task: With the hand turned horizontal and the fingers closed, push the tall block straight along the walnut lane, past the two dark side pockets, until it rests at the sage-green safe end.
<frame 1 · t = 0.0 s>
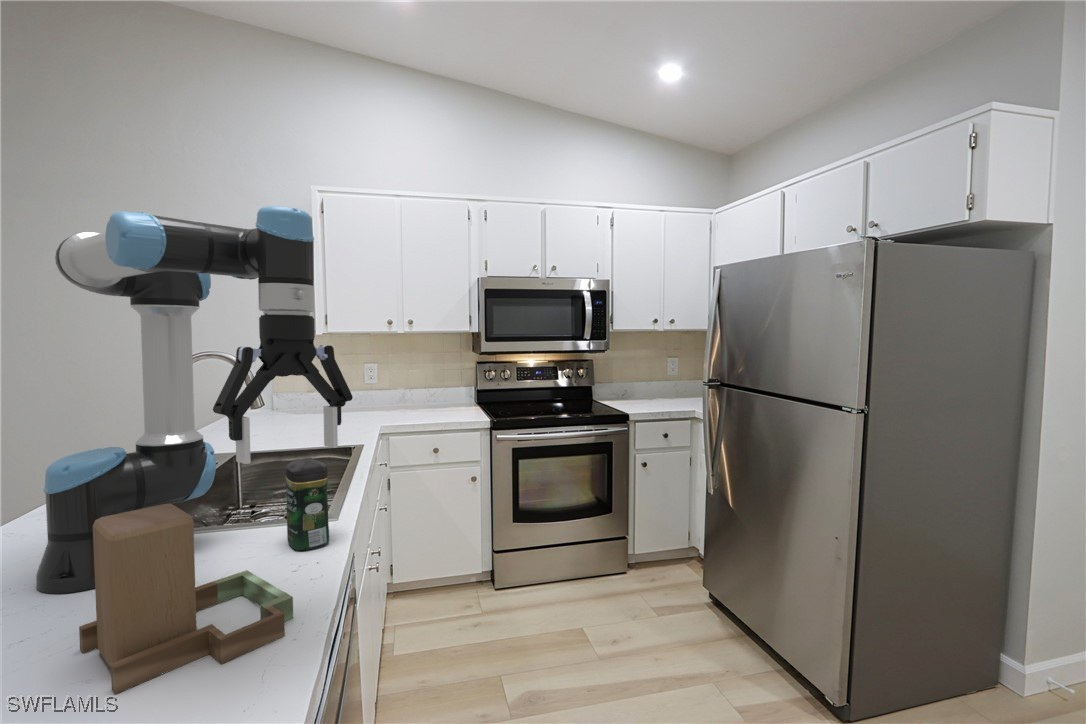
hand: (290, 454, 82), 28 cm above the counter, tool pointing down, fingers open, 13 cm apart
block: (148, 651, 79), on the counter
trap lane: (187, 634, 83), on the counter
coffee jar: (308, 544, 119), on the counter
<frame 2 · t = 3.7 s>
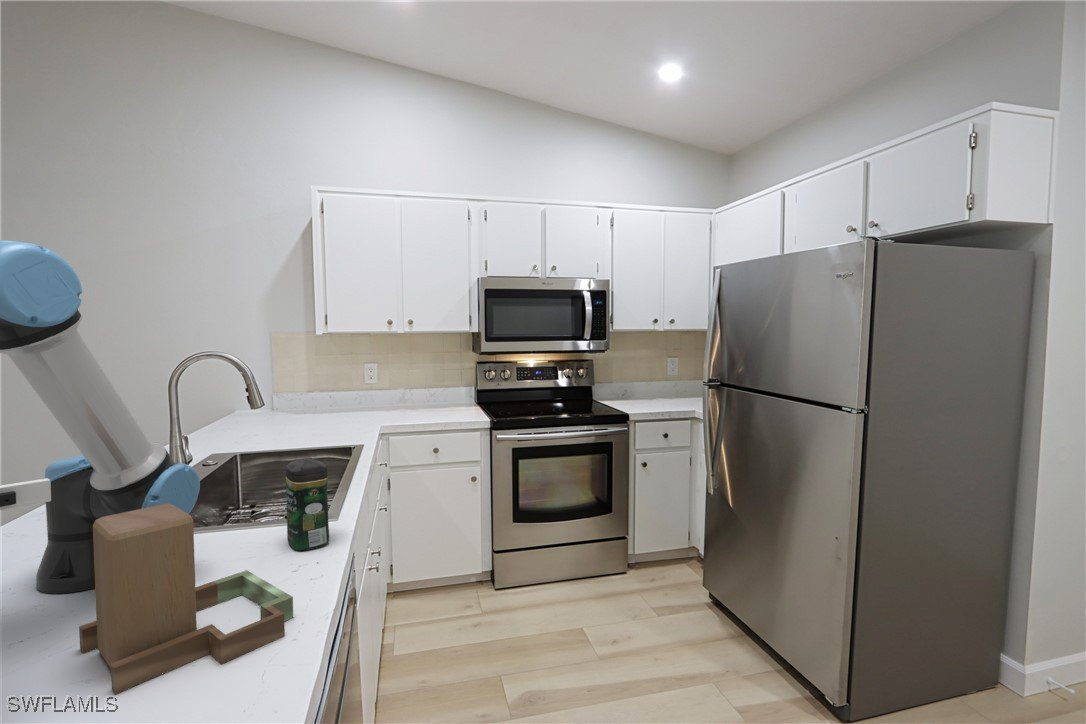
hand: (49, 489, 69), 26 cm above the counter, tool horizontal, fingers closed
nothing on the counter moved.
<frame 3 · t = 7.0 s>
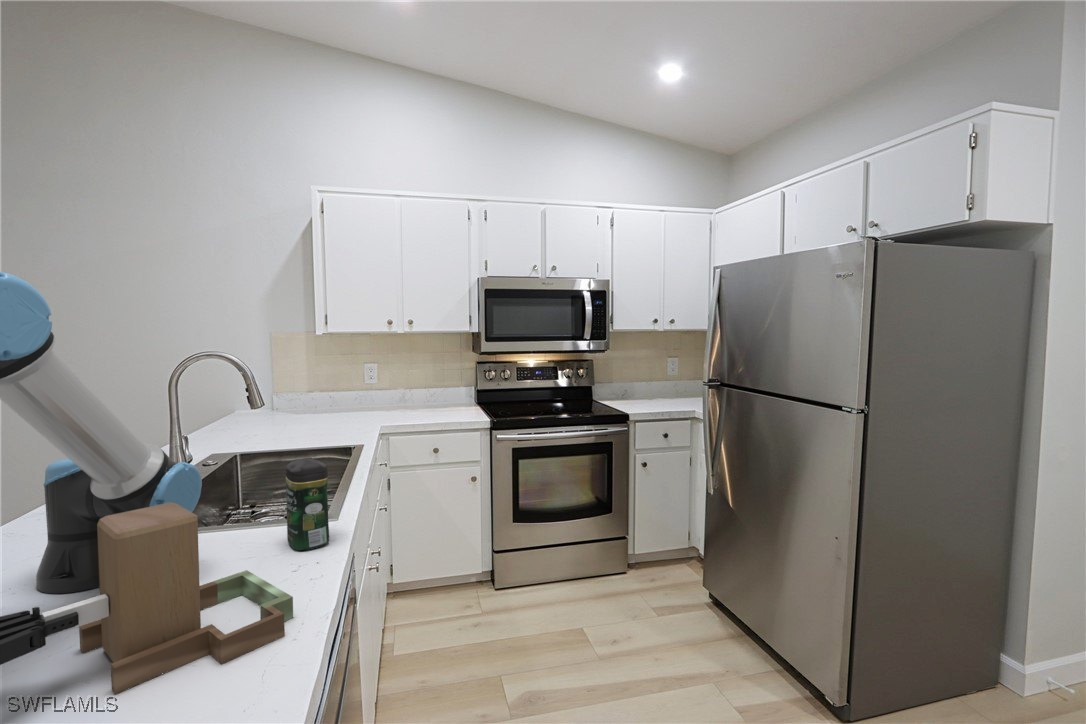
hand: (106, 605, 74), 9 cm above the counter, tool horizontal, fingers closed
block: (152, 649, 79), on the counter, touching gripper
everything else where it was.
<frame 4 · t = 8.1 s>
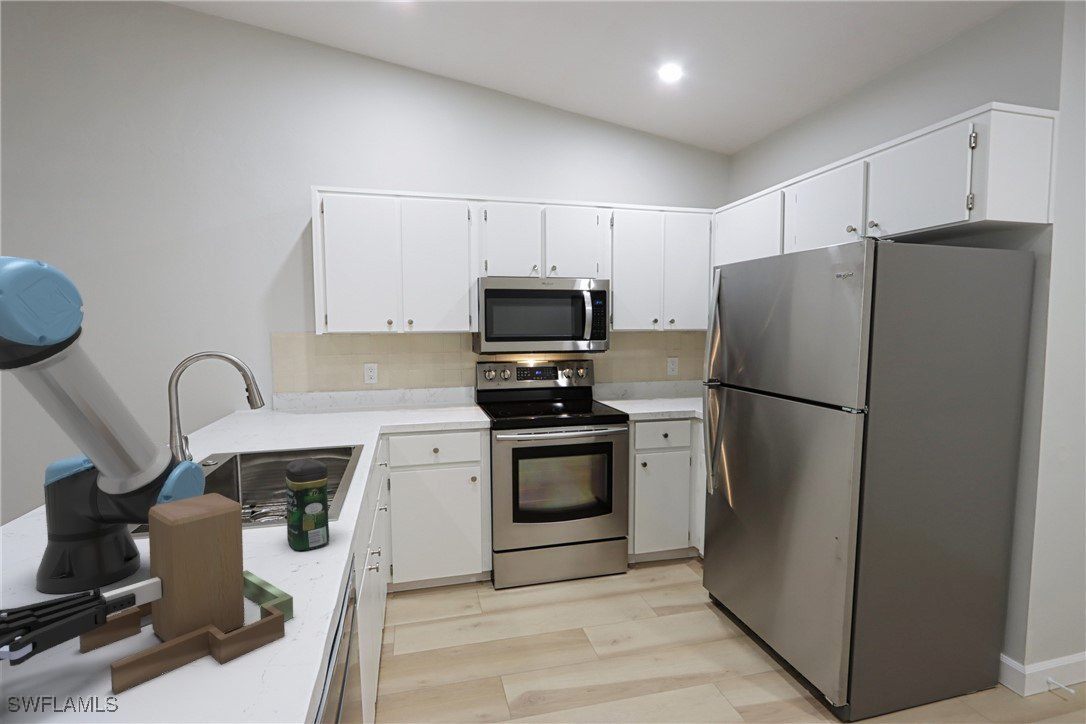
hand: (159, 587, 79), 9 cm above the counter, tool horizontal, fingers closed
block: (199, 630, 84), on the counter, touching gripper
everything else where it was.
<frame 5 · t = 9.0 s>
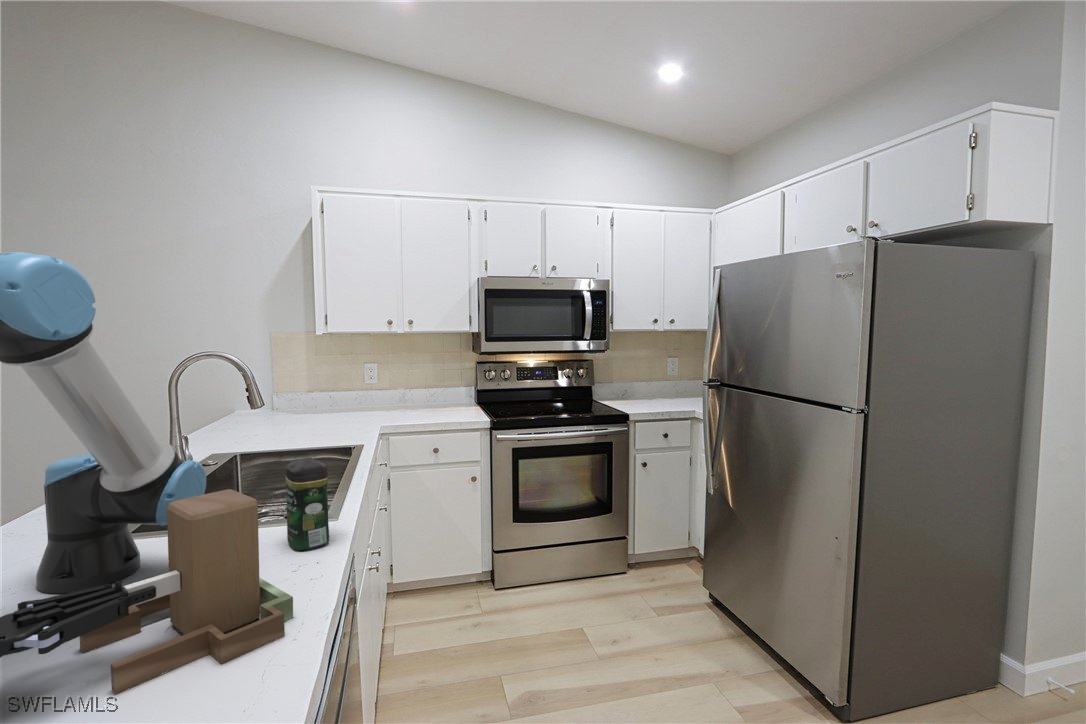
hand: (177, 580, 81), 9 cm above the counter, tool horizontal, fingers closed
block: (216, 623, 86), on the counter, touching gripper
everything else where it was.
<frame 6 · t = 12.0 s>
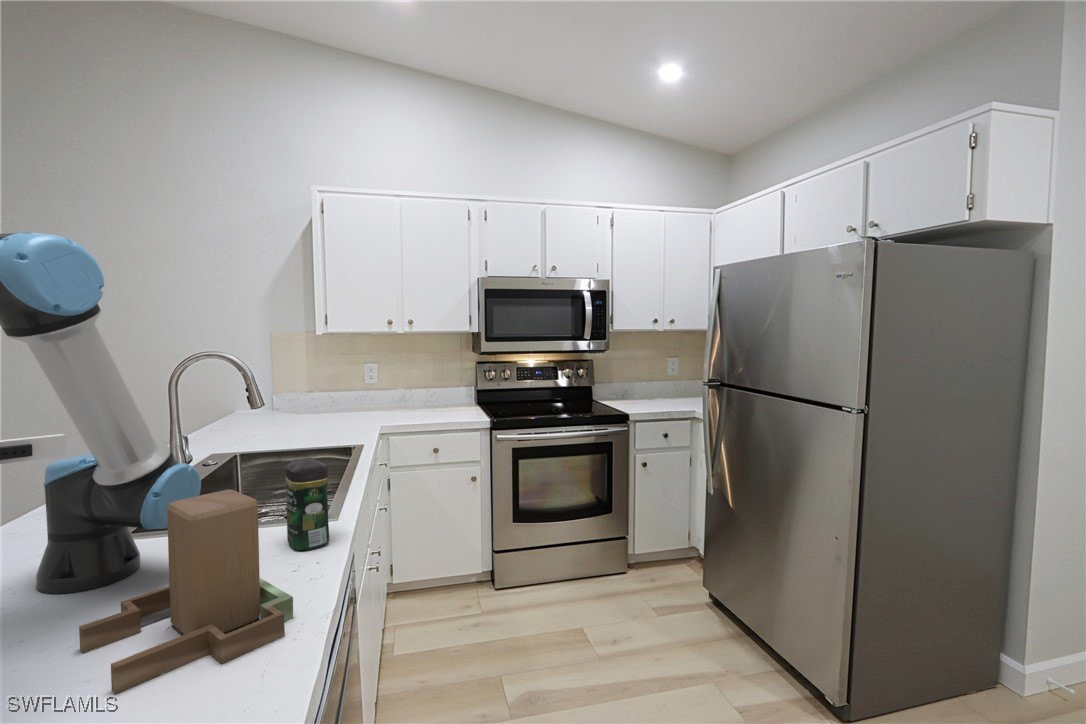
hand: (63, 444, 70), 32 cm above the counter, tool horizontal, fingers closed
block: (216, 623, 86), on the counter
everything else where it was.
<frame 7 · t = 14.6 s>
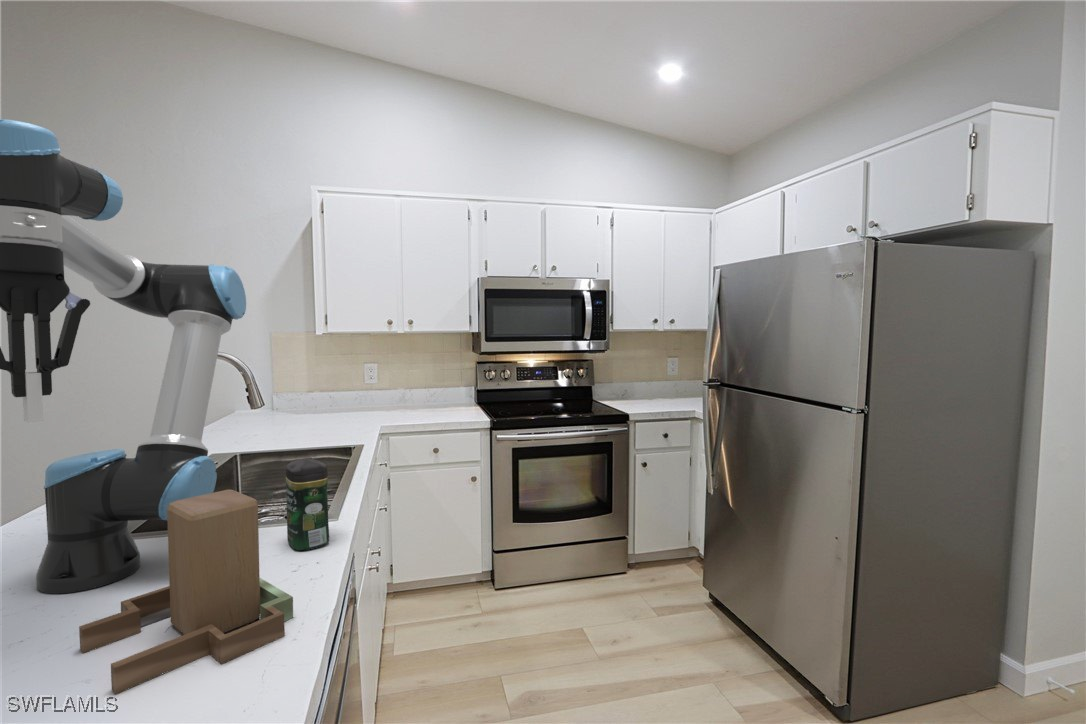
hand: (33, 420, 73), 34 cm above the counter, tool pointing down, fingers closed
nothing on the counter moved.
at the end: block inside the target area (0.8 cm from its centre), on the counter; block tilted 0° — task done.
